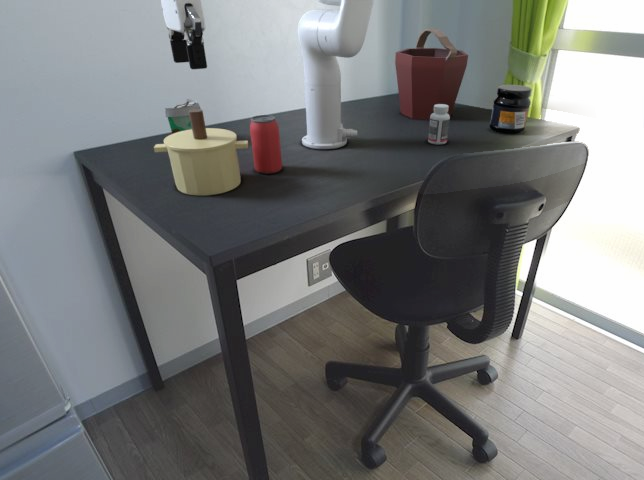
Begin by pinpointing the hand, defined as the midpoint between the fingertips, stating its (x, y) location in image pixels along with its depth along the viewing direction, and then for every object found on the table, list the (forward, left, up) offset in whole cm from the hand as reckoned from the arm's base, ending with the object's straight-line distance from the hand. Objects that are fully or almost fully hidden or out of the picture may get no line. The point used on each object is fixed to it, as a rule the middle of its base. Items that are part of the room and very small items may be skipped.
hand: (190, 65), depth 89 cm
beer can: (-12, -7, -24) cm, 28 cm away
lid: (0, +2, -14) cm, 14 cm away
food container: (+13, -29, -24) cm, 39 cm away
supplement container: (-79, -44, -24) cm, 93 cm away
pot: (0, +2, -24) cm, 24 cm away
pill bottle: (-56, -31, -24) cm, 68 cm away
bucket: (-56, -63, -24) cm, 87 cm away
